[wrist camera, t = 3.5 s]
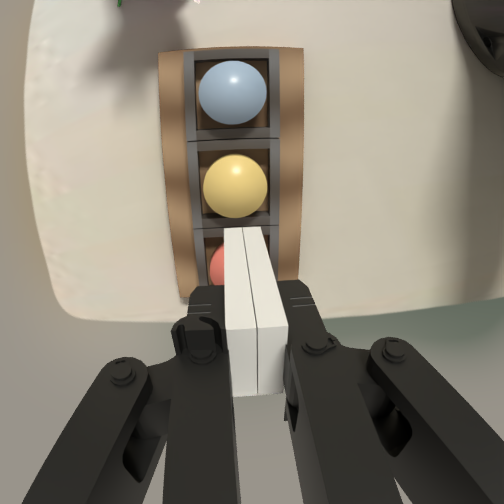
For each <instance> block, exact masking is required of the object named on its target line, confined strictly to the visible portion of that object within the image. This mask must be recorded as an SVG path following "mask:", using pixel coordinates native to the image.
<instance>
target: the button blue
mask: <svg viewBox="0 0 504 504" xmlns="http://www.w3.org/2000/svg"><path fill="white" fill-rule="evenodd" d="M266 92H267V91H266V85H265V82H264V79H263V77H262V76H261V74H260V73H259V72H258V71H257V70H256V69H255V68H254V67H252V66H251V65H249V64H246V63H244V62H240V61H226V62H222V63H219V64H217V65H215V66H214V67H212V68H211V69H210V70H209V71H208V72H207V73H206V74H205V75H204V77H203V78H202V80H201V83H200V86H199V100H200V104H201V106H202V108H203V110H204V111H205V112H206V113H207V114H208V115H209V116H210V117H211V118H212V119H214V120H216V121H218V122H220V123H224V124H240V123H244V122H247V121H249V120H250V119H252V118H253V117H255V116H256V115H257V114H258V113H259V112H260V110H261V109H262V107H263V105H264V103H265V100H266Z"/></svg>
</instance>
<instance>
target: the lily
mask: <svg viewBox="0 0 504 504" xmlns="http://www.w3.org/2000/svg"><path fill="white" fill-rule="evenodd" d="M193 1H195V2H197V3H200V0H193ZM120 5H121V0H118V7H120Z"/></svg>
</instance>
